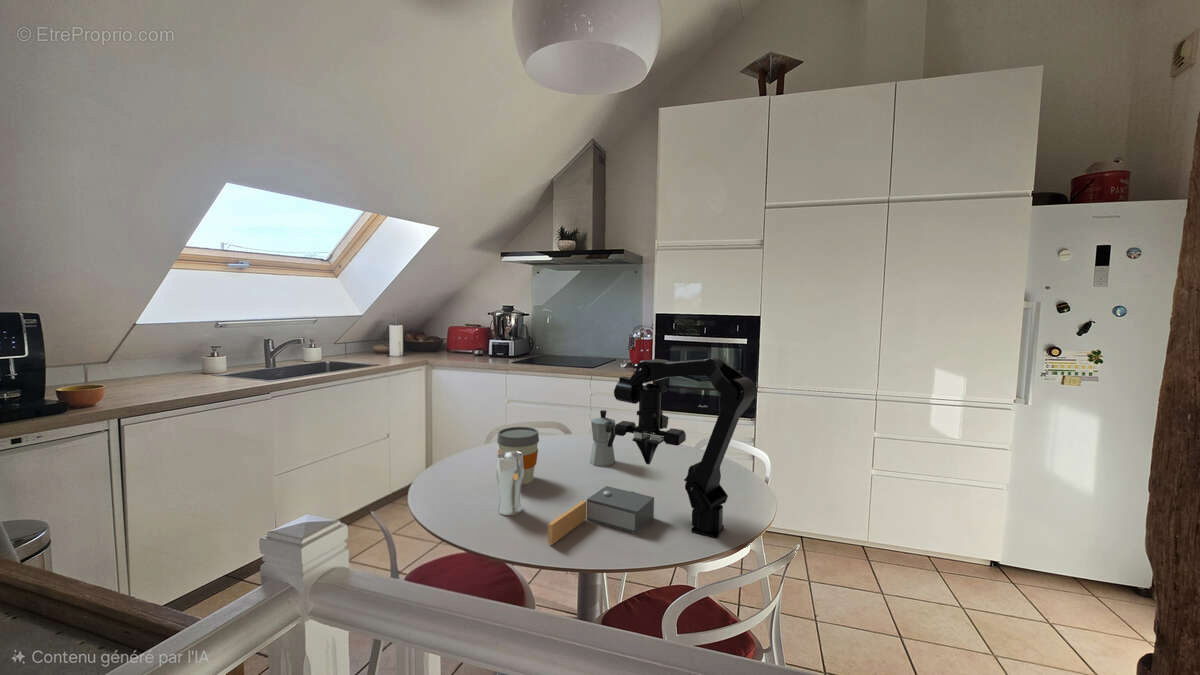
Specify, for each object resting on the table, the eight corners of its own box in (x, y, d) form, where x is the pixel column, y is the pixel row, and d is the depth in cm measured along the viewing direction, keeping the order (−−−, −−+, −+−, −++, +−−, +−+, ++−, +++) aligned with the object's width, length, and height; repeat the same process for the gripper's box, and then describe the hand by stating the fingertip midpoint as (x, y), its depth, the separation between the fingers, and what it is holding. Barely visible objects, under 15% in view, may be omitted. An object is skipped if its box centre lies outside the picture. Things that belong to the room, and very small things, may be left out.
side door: (552, 544, 111) (552, 524, 111) (546, 542, 112) (546, 523, 112) (586, 518, 124) (586, 501, 124) (580, 517, 125) (581, 499, 125)
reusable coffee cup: (517, 491, 142) (517, 440, 141) (488, 480, 149) (488, 432, 148) (547, 478, 152) (547, 431, 151) (519, 469, 159) (519, 424, 158)
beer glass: (511, 502, 134) (511, 449, 133) (528, 510, 130) (529, 454, 128) (491, 511, 129) (490, 455, 127) (508, 519, 124) (508, 461, 123)
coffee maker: (583, 458, 171) (584, 407, 170) (606, 455, 175) (606, 405, 174) (601, 472, 158) (602, 417, 156) (625, 468, 162) (626, 415, 160)
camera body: (656, 514, 128) (657, 492, 127) (636, 534, 117) (636, 509, 117) (609, 502, 135) (609, 481, 134) (586, 520, 124) (586, 496, 124)
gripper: (693, 405, 132) (691, 461, 134) (631, 397, 142) (630, 450, 143) (678, 413, 123) (677, 474, 124) (613, 404, 132) (612, 460, 133)
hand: (648, 463), depth 131 cm, fingers closed
